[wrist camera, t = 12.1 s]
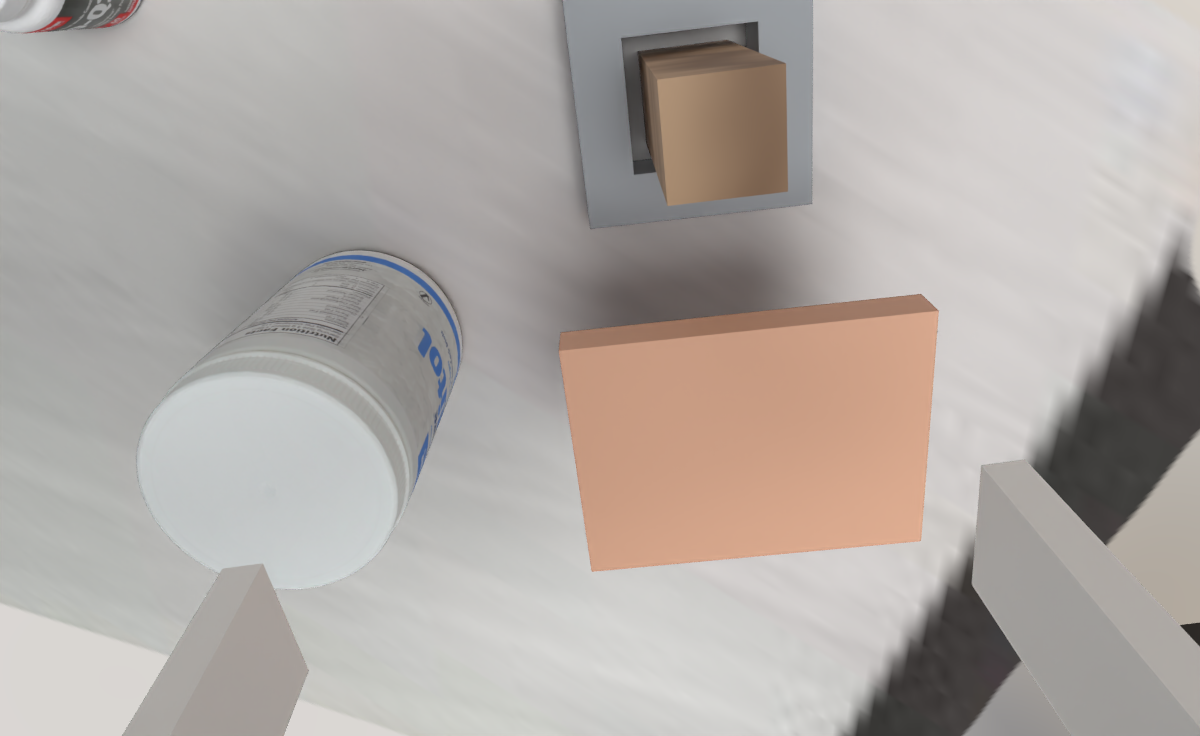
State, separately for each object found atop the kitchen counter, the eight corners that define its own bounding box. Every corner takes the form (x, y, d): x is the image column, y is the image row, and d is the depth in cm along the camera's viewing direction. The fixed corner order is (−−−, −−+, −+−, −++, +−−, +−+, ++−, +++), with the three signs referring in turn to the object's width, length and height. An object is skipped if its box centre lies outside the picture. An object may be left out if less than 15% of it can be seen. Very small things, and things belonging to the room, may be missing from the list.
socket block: (590, 212, 39) (590, 228, 36) (563, -15, 34) (560, -15, 32) (797, 188, 38) (812, 203, 35) (795, -44, 34) (812, -47, 31)
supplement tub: (480, 402, 43) (429, 586, 30) (311, 422, 44) (187, 612, 30) (443, 230, 39) (363, 355, 26) (255, 254, 39) (84, 389, 26)
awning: (592, 386, 43) (591, 571, 29) (571, 224, 39) (558, 350, 25) (816, 363, 42) (920, 541, 29) (817, 196, 38) (938, 310, 25)
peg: (646, 142, 37) (667, 206, 26) (638, 51, 35) (657, 79, 25) (731, 131, 37) (788, 191, 26) (727, 39, 35) (786, 63, 24)
